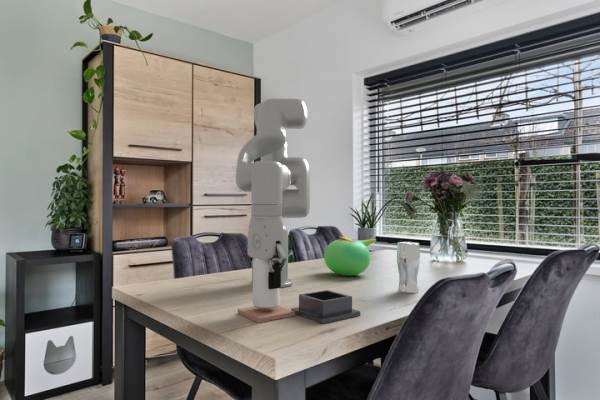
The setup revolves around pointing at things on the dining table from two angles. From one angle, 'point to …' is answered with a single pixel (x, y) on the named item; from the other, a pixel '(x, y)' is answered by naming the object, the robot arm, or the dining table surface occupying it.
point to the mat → (265, 313)
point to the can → (263, 286)
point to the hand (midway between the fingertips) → (266, 285)
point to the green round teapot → (348, 256)
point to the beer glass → (408, 266)
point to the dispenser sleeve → (325, 306)
